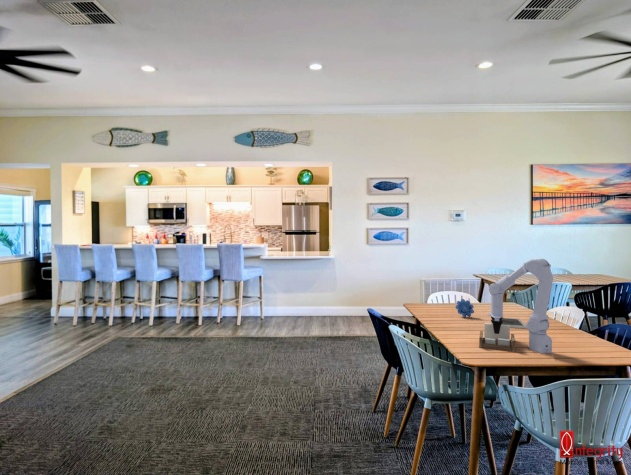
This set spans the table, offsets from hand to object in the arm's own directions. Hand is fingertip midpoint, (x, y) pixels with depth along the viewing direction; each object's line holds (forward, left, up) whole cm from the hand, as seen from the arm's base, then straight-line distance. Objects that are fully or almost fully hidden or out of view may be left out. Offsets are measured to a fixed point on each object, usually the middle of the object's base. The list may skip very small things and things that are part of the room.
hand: (496, 331), depth 209 cm
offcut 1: (-12, +13, -4) cm, 18 cm away
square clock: (+29, -32, -5) cm, 44 cm away
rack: (-7, +5, -4) cm, 10 cm away
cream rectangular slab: (0, 0, -4) cm, 4 cm away
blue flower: (+52, -17, -5) cm, 54 cm away
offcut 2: (-16, +8, -4) cm, 18 cm away
